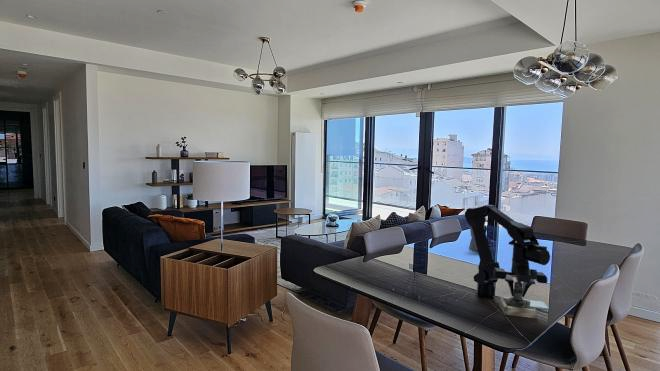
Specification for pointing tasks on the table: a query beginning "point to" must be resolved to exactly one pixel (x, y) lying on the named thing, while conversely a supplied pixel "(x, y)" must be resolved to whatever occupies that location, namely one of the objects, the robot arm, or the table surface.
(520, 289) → the dark grey chess piece
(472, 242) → the coffeepot
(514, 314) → the beige bracket
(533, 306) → the pad
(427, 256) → the table surface
